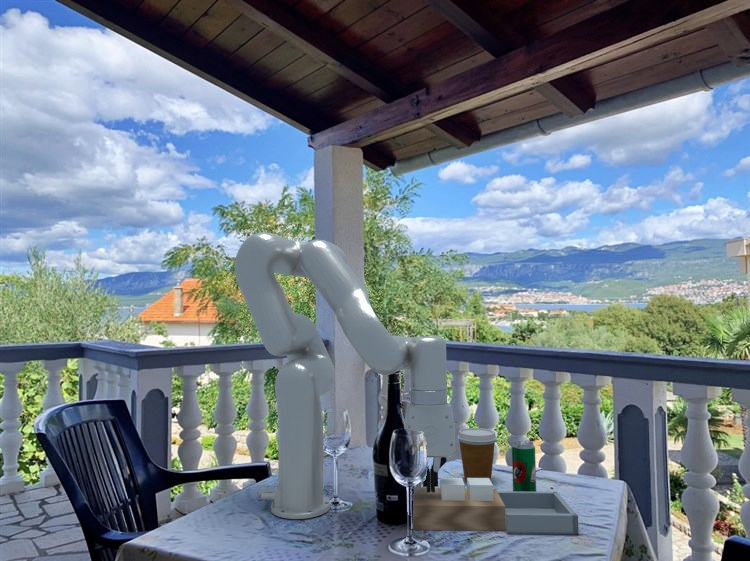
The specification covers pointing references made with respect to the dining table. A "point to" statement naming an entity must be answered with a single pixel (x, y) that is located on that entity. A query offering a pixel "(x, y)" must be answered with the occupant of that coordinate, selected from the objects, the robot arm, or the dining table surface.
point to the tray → (538, 513)
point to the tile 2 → (479, 489)
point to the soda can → (524, 466)
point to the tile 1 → (452, 489)
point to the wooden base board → (457, 512)
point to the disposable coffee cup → (477, 452)
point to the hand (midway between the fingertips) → (430, 490)
